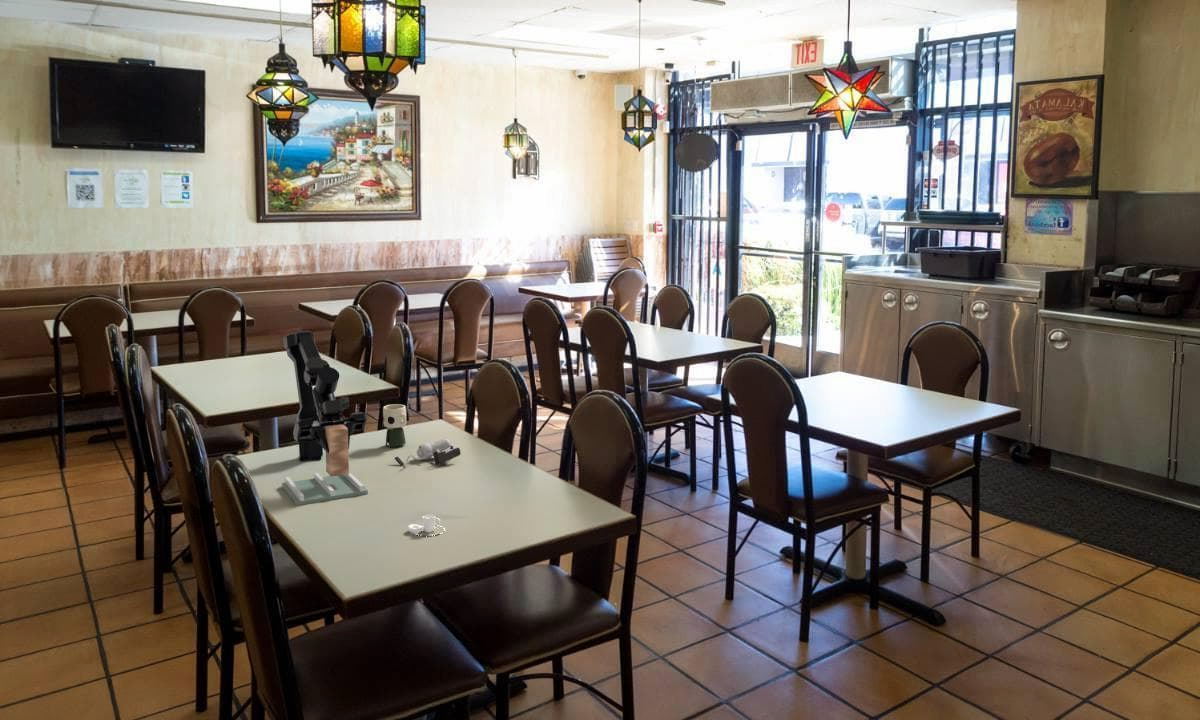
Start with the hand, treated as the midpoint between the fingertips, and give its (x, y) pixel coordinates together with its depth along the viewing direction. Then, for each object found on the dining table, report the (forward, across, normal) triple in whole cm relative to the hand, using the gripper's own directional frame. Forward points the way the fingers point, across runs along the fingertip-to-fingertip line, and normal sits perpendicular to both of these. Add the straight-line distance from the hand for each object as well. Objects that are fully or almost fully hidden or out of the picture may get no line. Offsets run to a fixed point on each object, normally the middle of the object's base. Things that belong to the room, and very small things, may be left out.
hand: (338, 450), depth 261 cm
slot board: (+7, -4, +9) cm, 12 cm away
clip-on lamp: (-1, +30, +17) cm, 34 cm away
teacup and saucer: (+36, +10, -20) cm, 42 cm away
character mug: (-17, +27, +33) cm, 46 cm away
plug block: (+4, 0, +6) cm, 7 cm away
